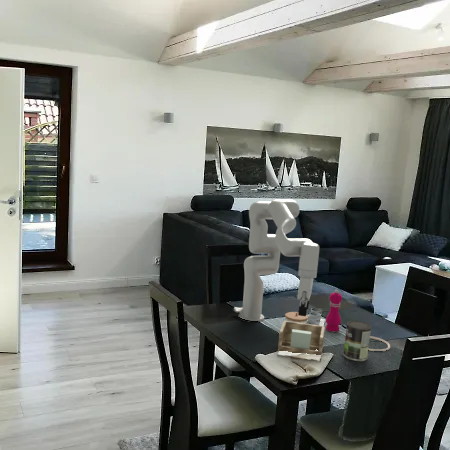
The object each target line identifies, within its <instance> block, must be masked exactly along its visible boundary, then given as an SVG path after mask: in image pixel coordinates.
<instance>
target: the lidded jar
mask: <svg viewBox="0 0 450 450" xmlns="http://www.w3.org/2000/svg"><path fill="white" fill-rule="evenodd" d="M298 312H299V311H290V312H289V311H288V312H286V313H285V315H284V321H290V322H297V323H304V324H306V323H307V324H308V320H309V316H308V315H307V314H306V316H299V315H298Z"/></svg>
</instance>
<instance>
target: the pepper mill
mask: <svg viewBox="0 0 450 450" xmlns="http://www.w3.org/2000/svg"><path fill="white" fill-rule="evenodd" d="M328 299H329V301H330V302H329V306H330V309H329V312H328V314H327V316H326V318H325V323H326V325H325V330H326V331H328V332H332V333H334V332H335V333H336V332H339V331H340V325H341V323H342V318H341V315H340V312H339V310H340V307H341V302H342V301H343V296H342V295H341V293H339V290H338V289H335V290H334V292H331V293H330V295H329V298H328Z"/></svg>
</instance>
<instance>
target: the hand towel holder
mask: <svg viewBox="0 0 450 450" xmlns="http://www.w3.org/2000/svg"><path fill="white" fill-rule="evenodd" d="M370 340H376V341H378V342H381V341H382V342H381V343H383V344H385V343H386V345H387V347H386V348H383V349H382V348H381V349H374V348H368V350H369V351H368V352H374V351H383V352H387V351H389V350H390V349H391V344H390V343H389V342H388V341H386V340H384V339H382V338H380V337H376V336H371V335H370ZM386 350H387V351H386Z"/></svg>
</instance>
